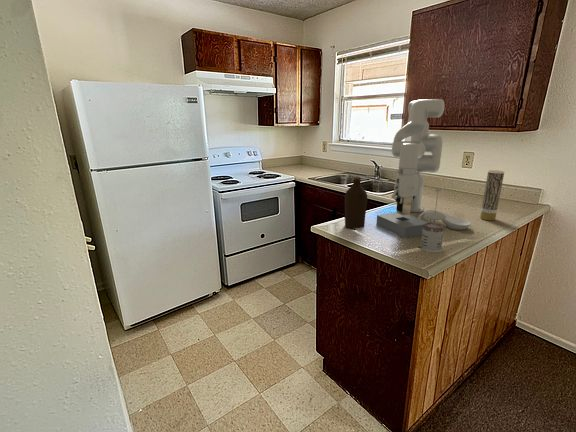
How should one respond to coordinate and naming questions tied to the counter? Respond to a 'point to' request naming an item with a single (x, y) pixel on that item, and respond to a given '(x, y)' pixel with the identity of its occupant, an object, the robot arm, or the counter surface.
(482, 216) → the paper tube
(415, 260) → the counter surface
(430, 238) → the french press
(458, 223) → the spoon rest
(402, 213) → the plug
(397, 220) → the socket block
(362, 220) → the olive oil
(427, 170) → the robot arm
